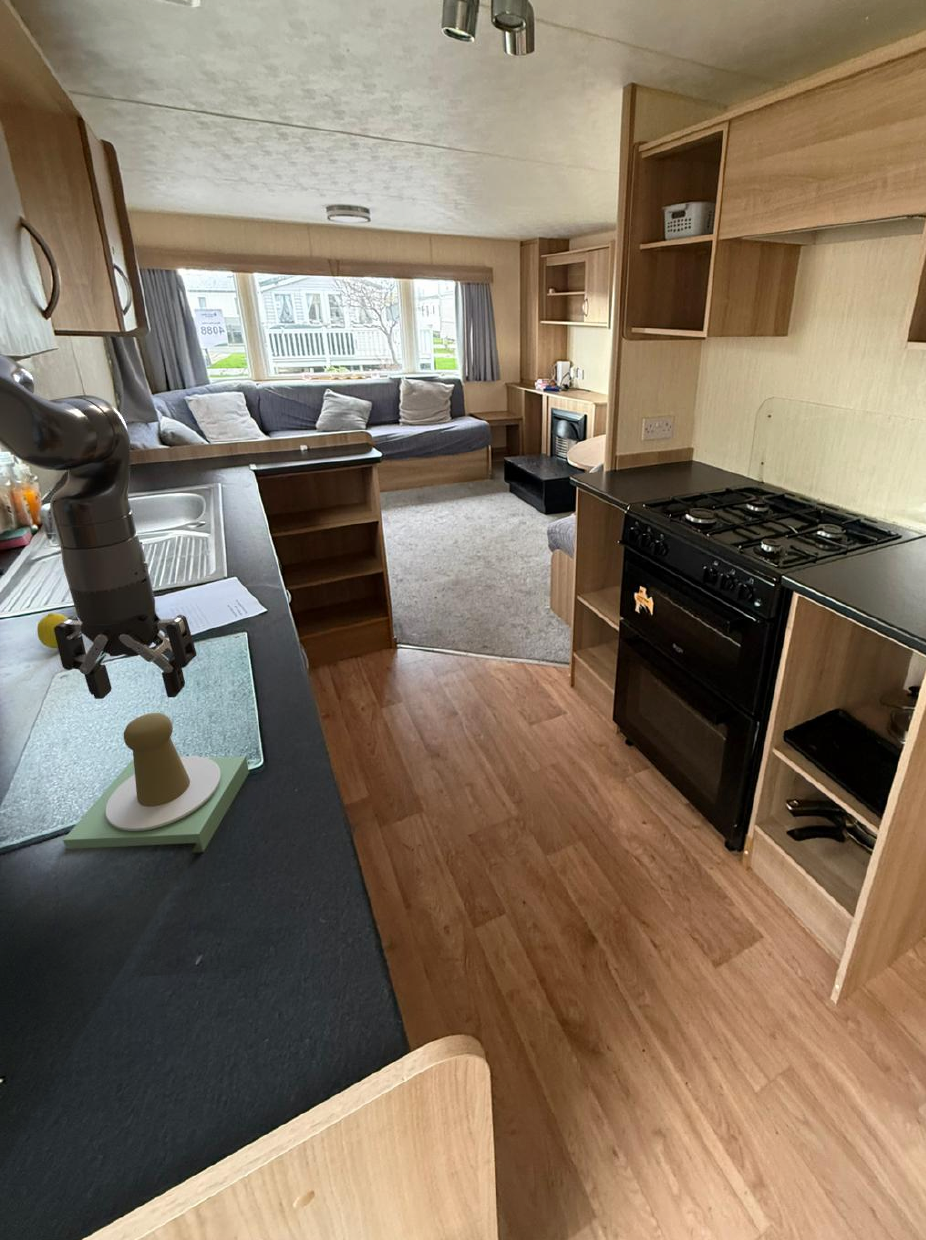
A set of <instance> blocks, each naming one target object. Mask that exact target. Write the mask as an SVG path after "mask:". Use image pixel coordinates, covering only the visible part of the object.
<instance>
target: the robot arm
mask: <svg viewBox="0 0 926 1240" xmlns="http://www.w3.org/2000/svg"><path fill="white" fill-rule="evenodd" d="M34 392H35V381H34V378H33V376H32V375H31V373H30V372H29V370H27V368H25V367H24V366H23V365H22V364H21V363H18V362H17V361H16V360H14V359H12V358H11V357H9V356H7V355H6V354H5V353H2V352H0V445H1V446H2V447H3V448H4V449H5V450H6V451H8V452H9V453H10V454H11V455H13V456H14V457H16V458H17V459H19V460H20V461H22V462H24V463H26V464H28V465H30V466H34V467H36V468H39V469H43V470H46V471H52V472H64V471H66V472H67V480H66V482H65V484H64V485H63V486H62V487H61V488H60V489H59V490H57V491H56V492H55V493H54V494H53V495H52V496H51V498H50V500H49V508H50V509H49V510H50V513H51V518H52V522H53V525H54V529H55V532H56V536H57V539H58V543H59V546H60V551H61V560H62V562H61V563H62V567H63V571H64V575H65V577H66V581H67V585H68V588H69V589H68V590H69V592H70V595H71V599H72V603H73V606H74V610H75V613H76V616H77V617H76V616H74V615H71V616H69V617H67V619H66V620H64V621H63V622H61V623H60V624H58V625H57V626H56V627H54V632H55V637H56V641H57V645H58V649H57V650H58V653H59V658H60V662H61V667H62V668H63V669H64V670H66V671H71V670H73V669H74V670H78V671H79V672H80V673H81V674H83V676H84V678H85V682H86V685H87V688H88V693H90V694H91V695H93V697H94V699H95V700H103V699H105V698H106V696H108V695H109V694H110V693H111V691H112V689H113V688H112V684H111V681H110V677H109V672H108V670H107V667H106V664H102V663H103V662H104V660H105V659H106V657H107V655H109V657H119V656H129V657H138V656H140V657H141V658H142V659H143V660H145V661H146V662H148V663H153V664H155V665H156V666H157V667H158V668H159V669H160V670H161V671H162V672H161V676H162V681H163V684H164V689H165V693H166V697H167V698H176V697H177V696H178V695H179V694H180V692H181V691H182V690H183V689H184V688H185V686H186V681H185V675H184V671H183V669H184V668H186V667H187V666H189V664H190V662H191V661H192V660H193V659H195V657H196V656H197V650H196V647H195V643H194V640H193V636H192V633H191V630H190V629H191V628H190V626H189V623H188V618H187V616H185V615H184V614H178V615H176V617H174V618H166V619H161V618H160V616H158V614H157V612H156V598H155V593H154V589H153V585H152V581H151V576H150V572H149V569H148V563H147V560H146V555H145V551H144V549H143V546H142V544H141V541H140V539H139V536H138V533H137V529H136V525H135V520H134V515H133V512H132V507H131V504H130V500H129V489H130V481H131V460H132V459H131V458H132V456H131V453H132V452H131V451H132V449H131V447H132V446H131V438H130V433H129V429H128V427H127V423H126V422H125V420H124V418H123V416H122V415H121V414H120V412H119V411H118V410H117V409H116V407H115V406H114V405H113V404H112V403H110V402H108V401H107V400H105V399H103V398H101V397H98V396H96V395H87V394H80V395H79V394H78V395H73V396H67V397H60V398H55V399H46V398H43V397H40V396H38V395H36V394H34ZM161 632H163V634H164V635H163V634H162V633H161ZM83 636H85V637H86V639H88V640H90V642H91V643H92V644H91V646H90V648H89V649H88V651H87V652H86V647H85V642H84V637H83ZM153 644H154V645H155V649H152V648H151V646H152V645H153Z"/></svg>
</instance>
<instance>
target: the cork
mask: <svg viewBox="0 0 926 1240" xmlns="http://www.w3.org/2000/svg"><path fill="white" fill-rule="evenodd" d="M173 726H174V725H173V723H172V720H171V718H170V717H169V716H168V715H166V714H165V713H161V712H150V713H146V714H143V715H140V716H138V717H136V718H134V719H133V720H131V721H130V722H129V723H128V724H127V725H126V726H125V729H124V731H123V741H124V744H125V745H126V747H127V748H128V749H130V750H131V751H132V758H133V760H134V770H135V781H136V792H137V800H138V803H139V804H141V805H143V806H146V807H154V806H159V805H163V804H166V803H168V802H171V801H173V800H174V799H176V798H178V797H179V796H181V795H182V794H183V793H184V792H185V791H186V790H187V788H188V787H189V784H190V779H189V776H188V774H187V772H186V770H185V768H184V765H183V763H182V761H181V759H180V757H181V756H180V754H179V753H178V751H177V748H176V746H175V744H174V742H173V740H172V738H171V736H172V734H173V730H174V727H173Z"/></svg>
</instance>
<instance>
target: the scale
mask: <svg viewBox="0 0 926 1240" xmlns="http://www.w3.org/2000/svg"><path fill="white" fill-rule="evenodd" d="M179 757H180V759H181V761H182V763H183V765H184V768H185V770H186V772H187V774H188V776H189V779H190V784H189V787H188V788H187V790H186V791H185V792H184V793H183V794H182V795H181V796H179V797H178V798H176V799H174V800H173V801H171V802H168V803H166V804H163V805H159V806H154V807H146V806H143V805H141V804H139V803H138V800H137V792H136V781H135V770H134V759H133V760H130V761H129V762H128V764H127V765H126V766H125V768H123V770H122V771H121V772H120V773H119V774H118V775H117V776H116V778H114V780H113V781H112V782H111V783H110V785H109V786H108V787H107V788H106V789H105V791H104V792H102V794H101V795H100V796H99V797H98V798H97V800H96V801H95V802H94V803H93V804H92V805H91V807H90V808H89V809H88V810H87V812H86V813H85V814H83V816H82V817H81V818H80V820H79V821H78V822H77V823H76V824H75V825H74V826H73V827H72V829H71V830H70V831H69V832H68V833H67V834H66V836H65V837H64V838H63V839H62V842H63V844H64V847H65V850H66V849H67V850H72V849H95V848H113V847H136V846H157V845H180V844H181V845H183V844H195V845H194V847H193V848H192V850H191V852H190V853H191V854H195V853H204V852H205V850H206V848H207V847H208V845H209V844H210V841H211V840H212V838H213V836H214V834H215V833H216V832H217V830H218V828H219V826H220V825H221V822H222V821H223V819H224V817H225V815H226V814H227V812H228V810H229V809H230V807H231V805H232V803H233V802H234V800H235V799H236V796H237V795H238V793H239V791H240V789H241V788H242V786H243V784H244V782H245V781H246V779H247V777H248V775H249V774H250V770H249V766H248V765H249V764H248V759H247V756H246V755H243V756H241V755H240V756H218V757H217V756H216V757H215V756H214V757H213V756H212V757H205V756H199V755H186V756H179Z"/></svg>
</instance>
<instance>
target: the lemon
mask: <svg viewBox="0 0 926 1240" xmlns="http://www.w3.org/2000/svg"><path fill="white" fill-rule="evenodd" d="M67 618H68V617H67V616H66V615H64V614H61V613H53V612H50V613H48V614H47V615H46V616H44V617H42V618H41V620H40V621H38V624H37V631H36V633H37V637H38V639H39V641H40V643H41V644H42V645H44V646H45V647H47V648H50V649H57V648H58V645H57V641H56V637H55V632H54V627H56V626H57V625H58V624H60V623H61V622H63V621H64V620H66V619H67Z"/></svg>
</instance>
